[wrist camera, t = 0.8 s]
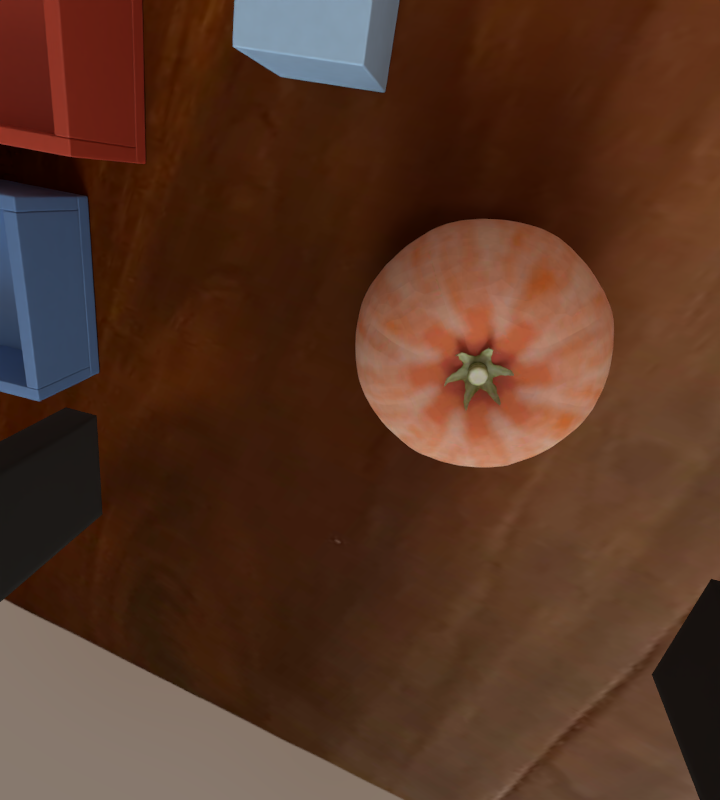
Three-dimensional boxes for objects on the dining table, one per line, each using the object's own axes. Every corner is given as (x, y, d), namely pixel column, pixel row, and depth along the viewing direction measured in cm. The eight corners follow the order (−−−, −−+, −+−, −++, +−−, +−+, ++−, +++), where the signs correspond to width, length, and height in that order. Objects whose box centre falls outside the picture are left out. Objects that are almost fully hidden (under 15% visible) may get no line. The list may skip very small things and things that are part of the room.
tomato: (635, 261, 22) (715, 293, 15) (527, 452, 27) (549, 546, 20) (414, 181, 23) (389, 174, 16) (345, 380, 27) (302, 446, 20)
